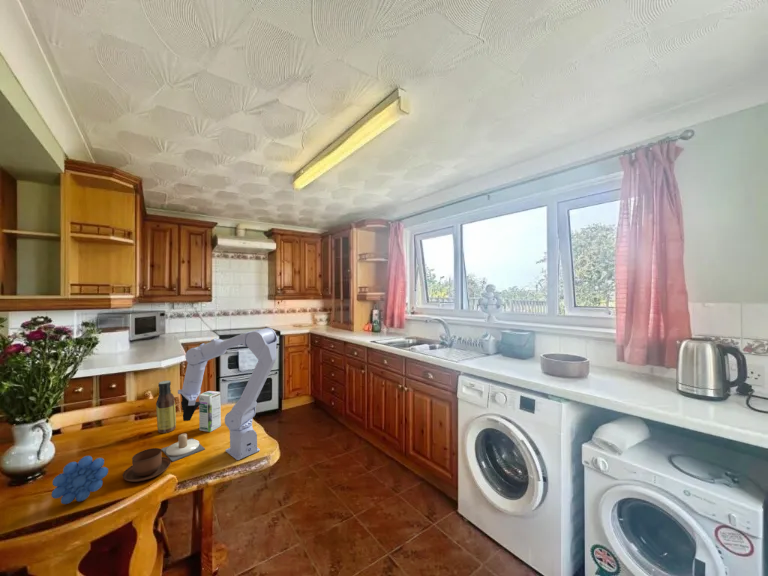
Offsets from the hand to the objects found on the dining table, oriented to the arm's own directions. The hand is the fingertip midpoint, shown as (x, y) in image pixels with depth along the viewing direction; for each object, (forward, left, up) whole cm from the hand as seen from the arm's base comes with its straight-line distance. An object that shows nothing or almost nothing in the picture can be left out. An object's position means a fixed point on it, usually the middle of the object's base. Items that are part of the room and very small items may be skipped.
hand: (185, 414), depth 115 cm
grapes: (-9, +29, -12) cm, 32 cm away
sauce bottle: (+20, +1, -12) cm, 24 cm away
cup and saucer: (-9, +14, -12) cm, 20 cm away
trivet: (-2, +2, -12) cm, 12 cm away
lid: (-2, +2, -11) cm, 11 cm away
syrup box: (+8, -11, -12) cm, 18 cm away
